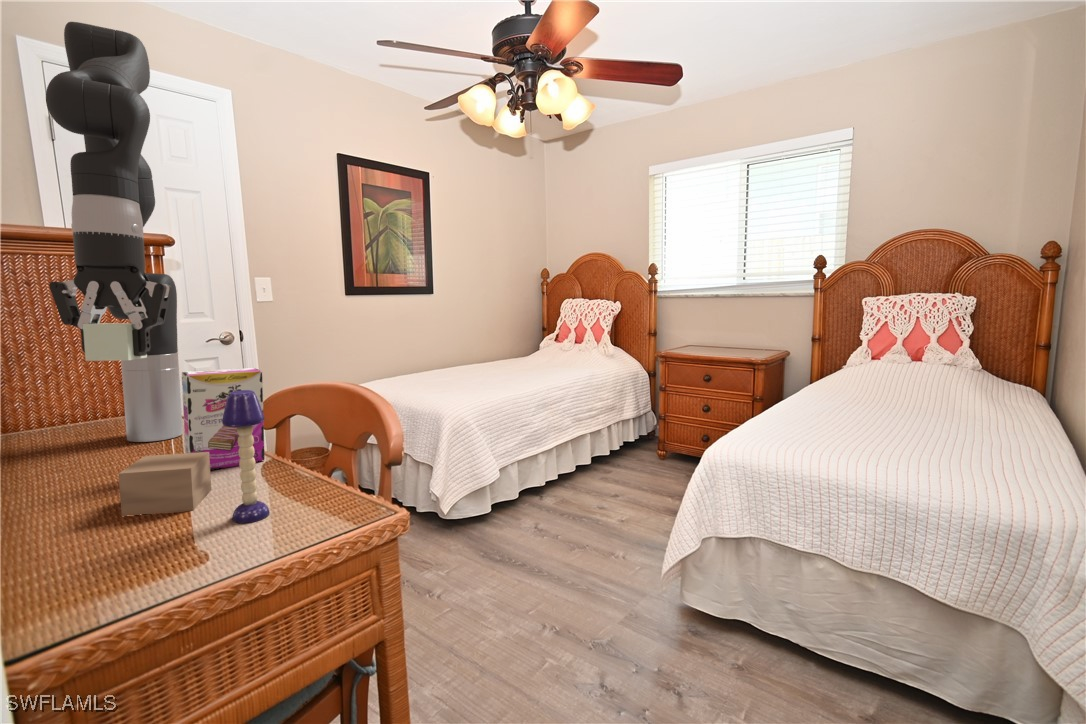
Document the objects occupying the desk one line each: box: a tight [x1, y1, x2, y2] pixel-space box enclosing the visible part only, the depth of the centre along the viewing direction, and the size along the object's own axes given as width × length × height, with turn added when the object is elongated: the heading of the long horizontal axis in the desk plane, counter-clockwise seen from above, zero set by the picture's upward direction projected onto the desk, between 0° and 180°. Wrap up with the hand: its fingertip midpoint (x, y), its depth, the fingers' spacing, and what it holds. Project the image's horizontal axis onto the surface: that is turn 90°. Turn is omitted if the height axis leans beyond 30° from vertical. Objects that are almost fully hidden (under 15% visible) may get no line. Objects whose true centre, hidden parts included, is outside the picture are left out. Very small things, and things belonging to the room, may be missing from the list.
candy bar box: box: [181, 367, 265, 471], centre depth 87 cm, size 11×5×16 cm, turn 135°
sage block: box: [83, 322, 147, 362], centre depth 72 cm, size 5×5×5 cm
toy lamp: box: [222, 390, 270, 524], centre depth 66 cm, size 5×5×17 cm
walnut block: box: [117, 452, 212, 517], centre depth 71 cm, size 8×8×6 cm
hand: (117, 355), depth 72 cm, fingers closed on sage block, 5 cm apart
